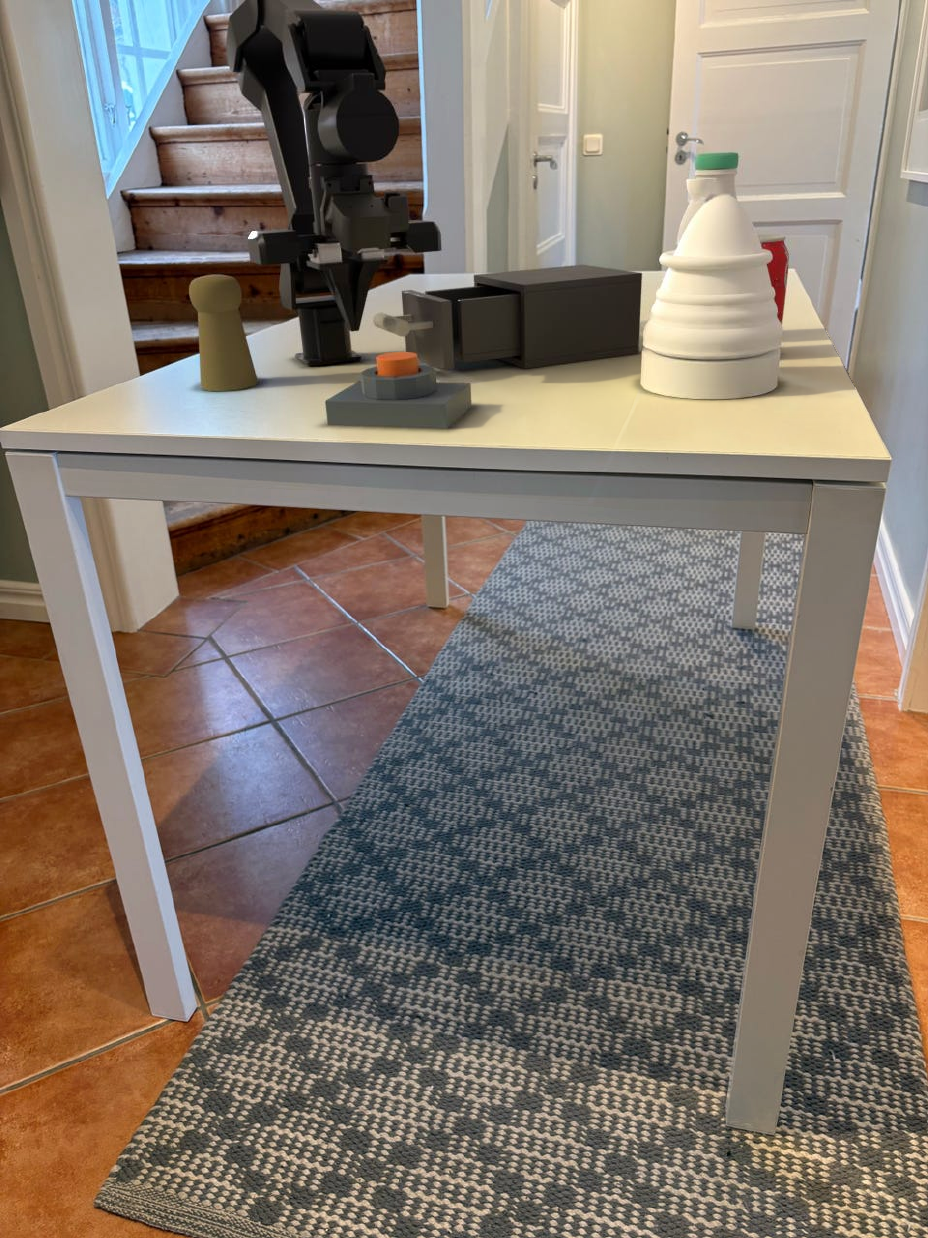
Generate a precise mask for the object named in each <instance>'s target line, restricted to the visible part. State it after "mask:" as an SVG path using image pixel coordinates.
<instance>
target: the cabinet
mask: <svg viewBox="0 0 928 1238" xmlns="http://www.w3.org/2000/svg"><path fill="white" fill-rule="evenodd" d="M642 283H643V273H642V272H637V271H630V270H623V269H617V268H609V267H601V266H595V265H588V264H575V265H563V266H555V267H553V266H551V267H544V268H543V267H541V268H532V269H522V270H512V271H500V272H499V271H498V272H488V273H479V274H478V273H477V274H473V287H474V286H484V285H490V286H495V287H499V288H504V289H509V290H513V291H518V292H521V350H522V355H520V356H512V357H505V358H497V360H500V361H502V362H505V363H508V364H511V365H513V366H516V367H519V368H522V369H525V370H526V369H532V368H533V369H534V368H540V367H549V366H555V365H562V364H564V365H565V364H570V363H578V362H585V361H591V360H598V359H599V360H600V359H606V358H614V357H620V356H621V357H622V356H628V355H629V356H630V355H635V354H639V349H640V348H639V347H640V326H641V307H642V306H641V303H642V287H643V286H642Z"/></svg>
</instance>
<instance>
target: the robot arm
mask: <svg viewBox="0 0 928 1238" xmlns="http://www.w3.org/2000/svg"><path fill="white" fill-rule="evenodd" d="M225 45H226V47H225V48H226V59H227V63H228V67H229V71H230V72H231V73H234V74H235V78H236V80H237V81H236V82H237V84H238V88H239V90H240V93H241V95H242V96H243V97H244V99H246V100H247V101H248V102H249V103H250V104H251V105H253V106H254V108H256V109H257V110H258V111H259V112H260V115H261V118H262V122H263V125H264V129H265V133H266V137H267V141H268V145H269V149H270V152H271V156H272V160H273V164H274V168H275V171H276V175H277V179H278V182H279V186H280V190H281V193H282V194H281V195H282V198H283V201H284V205H285V209H286V212H287V216H288V220H289V225H288V227H287V228H284V229H283V228H281V229H266V230H252V231H251V233H250V234H249V236H248V238H247V247H248V254H249V261H250V262H252V263H254V264H257V265H260V266H272V265H274V266H275V265H280V275H279V285H278V290H279V295H280V300H281V305H282V307H283V308H285V309H288V311H289V310H290V311H297V314H298V322H299V331H300V340H301V349H302V352H297V353H294V358H295V359H297V361H300V362H302V363H303V364H304V365H306V366H308V367H313V366H314V367H315V366H320V365H329V364H337V363H345V362H354V361H361V360H362V359H363V358H362V354H360V353H357V352H355V351H354V350H352V341H351V332H352V333H353V332H359V331H360V328H361V324H362V320H363V316H364V310H365V307H366V303H367V298H368V295H369V291H370V287H371V285H372V283H373V279H374V277H375V275H376V274H377V272H378V271H379V269H380V267H382V266H387V265H389V262H390V258H388V257H387V258H386V257H385V252H386V250H387V249H394V250H408V249H409V251H411V252H412V253H414V254H419V253H431V252H432V253H433V252H441V251H442V249H443V248H442V233H441V231H440V228H439V226H438V225H437V224H436V222H435V221H434V220H433V221H432V220H423V219H422V220H421V219H415V220H414V219H413V220H410V211H409V201H408V195H406V193H405V192H404V191H403V190H400V191H399V190H397V191H386V192H384V193H383V196H377V194H376V191H375V182H374V180H373V174H370V173H369V172H370V171H369V163H374V162H378V161H381V160H384V159H385V158H386V157H387V156H389V155H390V154H391V152H393V150H394V149H395V146H396V145H397V142H398V138H399V135H400V120H399V116H398V114H397V112H396V109H395V107H394V105H393V103H392V102H391V100H390V99H389V98H388V97H387V96H386V95H385V94H384V93H383V91H386V88H387V86H386V85H387V83H386V75H387V69H386V67H385V65H384V63H383V60H382V58H381V55H380V53H379V49H378V48H377V46H376V43H375V41H374V39H373V36H372V32H371V30H370V28H369V26H368V25H366V24H365V20H364V18H363V16H362V14H361V13H360V12H359V11H358V10H354V9H326V8H324V7H323V6H322V5H320V4H319V2H317V1H315V0H244V1H243V2H241V4H239V6H238V7H237V8H235V10H234V11H232V13H230V15H229V17H228V25H227V32H226V41H225ZM301 94H308V95H307V97H306V98H304V101H303V107H302V104H301V100H300V95H301ZM322 294H329V295H322ZM297 295H299V296H301V297H298V298H297ZM309 295H319V296H309ZM302 296H308V297H302Z"/></svg>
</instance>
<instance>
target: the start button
mask: <svg viewBox="0 0 928 1238" xmlns="http://www.w3.org/2000/svg"><path fill="white" fill-rule="evenodd" d="M375 359H376V367H377V371H378V375H381V376H405V375H412V374H416V373H419V372H418V364H419V358H418V356H417V354H416V353H412V352H406V351H393V352H386V353H380V354H378V355H376V358H375Z"/></svg>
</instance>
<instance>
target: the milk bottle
mask: <svg viewBox="0 0 928 1238" xmlns="http://www.w3.org/2000/svg"><path fill="white" fill-rule="evenodd" d="M739 158H740V157H739V152H734V151H733V152H731V151H730V152H729V151H728V152H708V153H698V154H696V157H695V163H694V170H695V171H694V176H695V179H699V178H716V184H715V187H714V190H713V192H712V194H730V196H732V197H734V198H735V199H737V200H738V197H737V193H736V187H735V179H736V175H737V174H738V167H739ZM705 203H706V202H701V203H698V202H695V201H694V200H692V198H691V199H690V201H689V204H688V205H687V208H686V210H685V212H684V214H683V217H682V219H681V221H680V224H679V227H678V231H677V237H676V247H675V249H676V248H677V246H678V244H679V242H680V240H681V238H682V236H683V234H684V232H685V230H686V229H687V227H688V225H689V223H690V222H691V220H692V219H693V217H694V216H695V214H696V213H697V212H698V210H699V209H700V208H701V207H702V206H703V205H704V204H705Z"/></svg>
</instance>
